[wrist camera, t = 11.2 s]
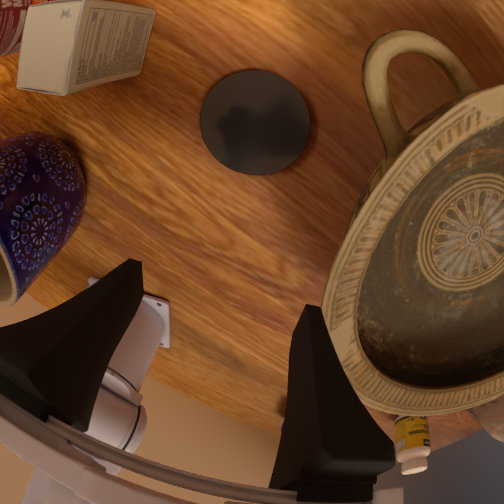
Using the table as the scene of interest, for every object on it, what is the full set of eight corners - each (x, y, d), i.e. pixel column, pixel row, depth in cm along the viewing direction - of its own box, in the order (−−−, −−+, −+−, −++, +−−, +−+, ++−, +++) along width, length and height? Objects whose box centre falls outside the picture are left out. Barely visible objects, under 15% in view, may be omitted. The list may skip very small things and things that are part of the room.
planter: (55, 239, 27) (-9, 312, 18) (7, 153, 22) (-74, 210, 13) (123, 207, 23) (41, 299, 15) (65, 95, 18) (-49, 145, 9)
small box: (107, 6, 14) (26, 3, 7) (159, 9, 14) (84, -4, 8) (93, 69, 17) (13, 90, 10) (141, 77, 17) (64, 98, 11)
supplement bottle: (432, 409, 36) (439, 464, 29) (413, 423, 40) (416, 474, 32) (407, 408, 36) (411, 467, 29) (388, 422, 40) (389, 476, 32)
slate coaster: (196, 161, 20) (193, 163, 20) (210, 62, 16) (208, 62, 16) (295, 183, 20) (295, 186, 20) (322, 84, 16) (322, 85, 16)
